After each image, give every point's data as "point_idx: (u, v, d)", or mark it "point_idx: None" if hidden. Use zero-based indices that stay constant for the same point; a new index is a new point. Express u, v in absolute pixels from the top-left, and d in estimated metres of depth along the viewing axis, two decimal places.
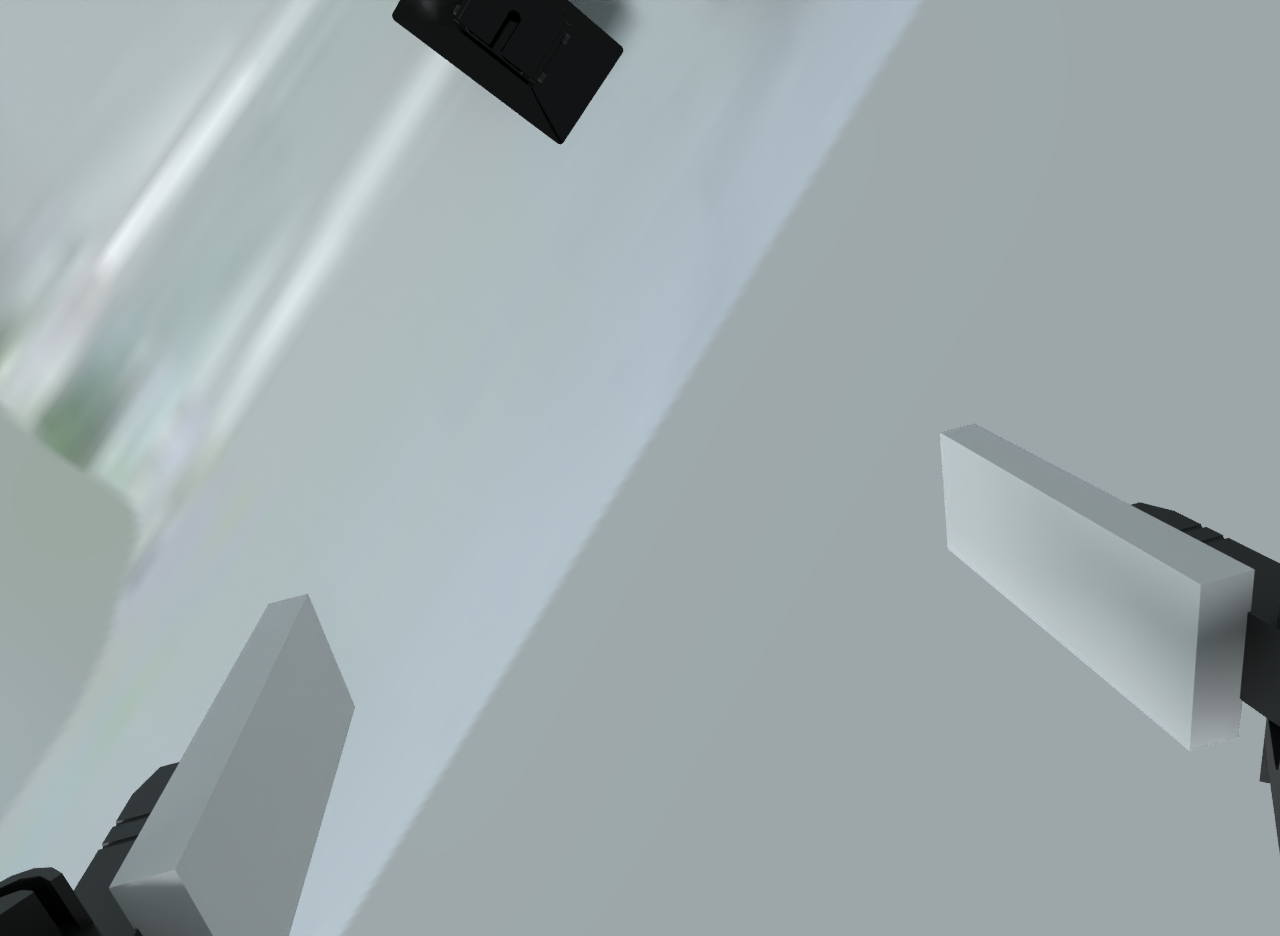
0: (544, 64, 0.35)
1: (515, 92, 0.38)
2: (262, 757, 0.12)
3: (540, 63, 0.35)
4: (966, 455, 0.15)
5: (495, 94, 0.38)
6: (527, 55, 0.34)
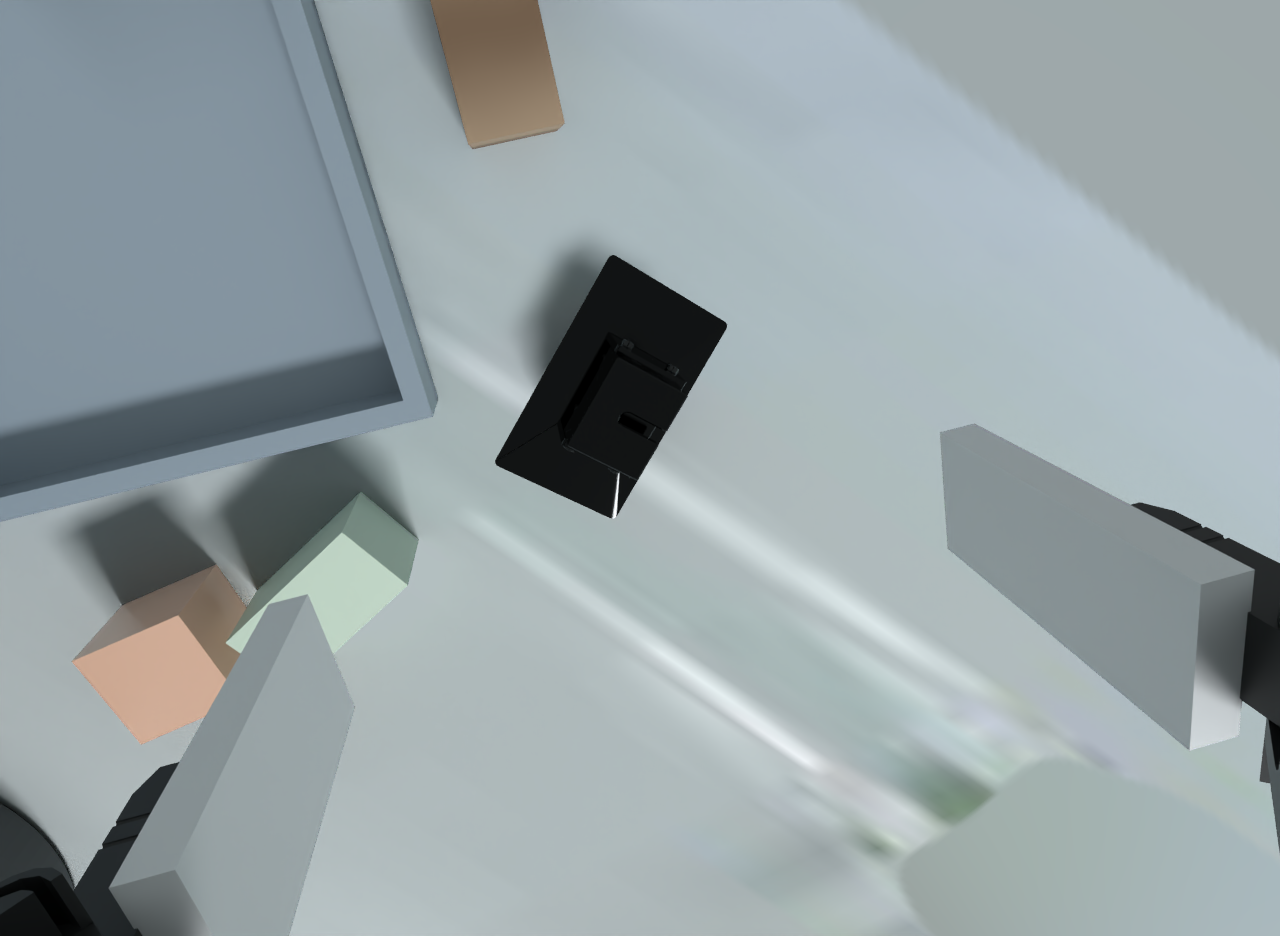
0: (665, 372, 0.28)
1: None
2: (262, 757, 0.12)
3: (664, 377, 0.28)
4: (965, 455, 0.15)
5: None
6: (666, 400, 0.28)
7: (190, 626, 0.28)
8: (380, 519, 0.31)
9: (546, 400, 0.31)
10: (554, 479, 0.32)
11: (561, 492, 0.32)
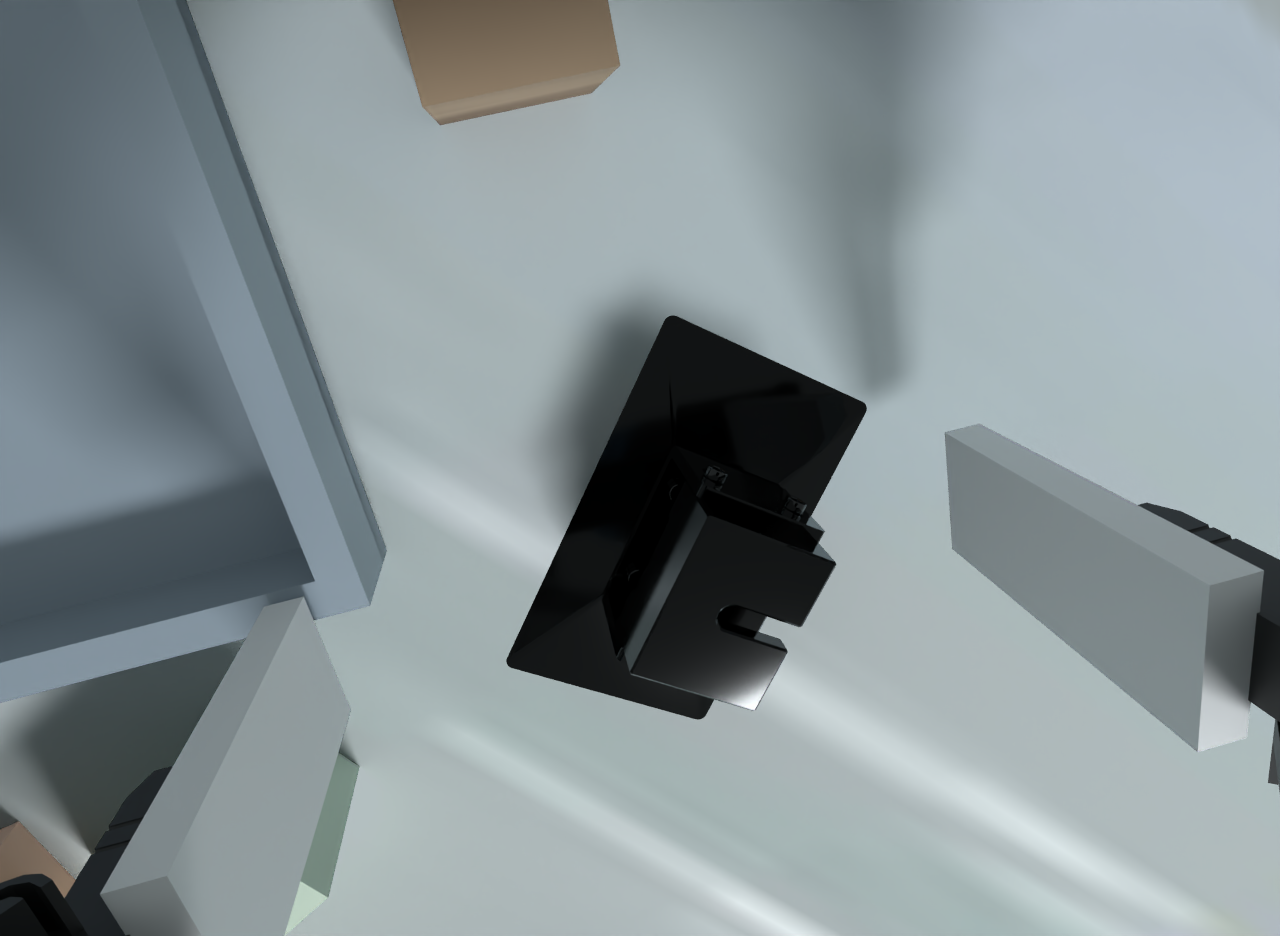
0: (787, 520, 0.16)
1: None
2: (256, 761, 0.12)
3: (788, 529, 0.16)
4: (970, 455, 0.15)
5: None
6: (798, 577, 0.15)
7: None
8: None
9: (580, 561, 0.19)
10: (604, 676, 0.20)
11: (616, 693, 0.20)
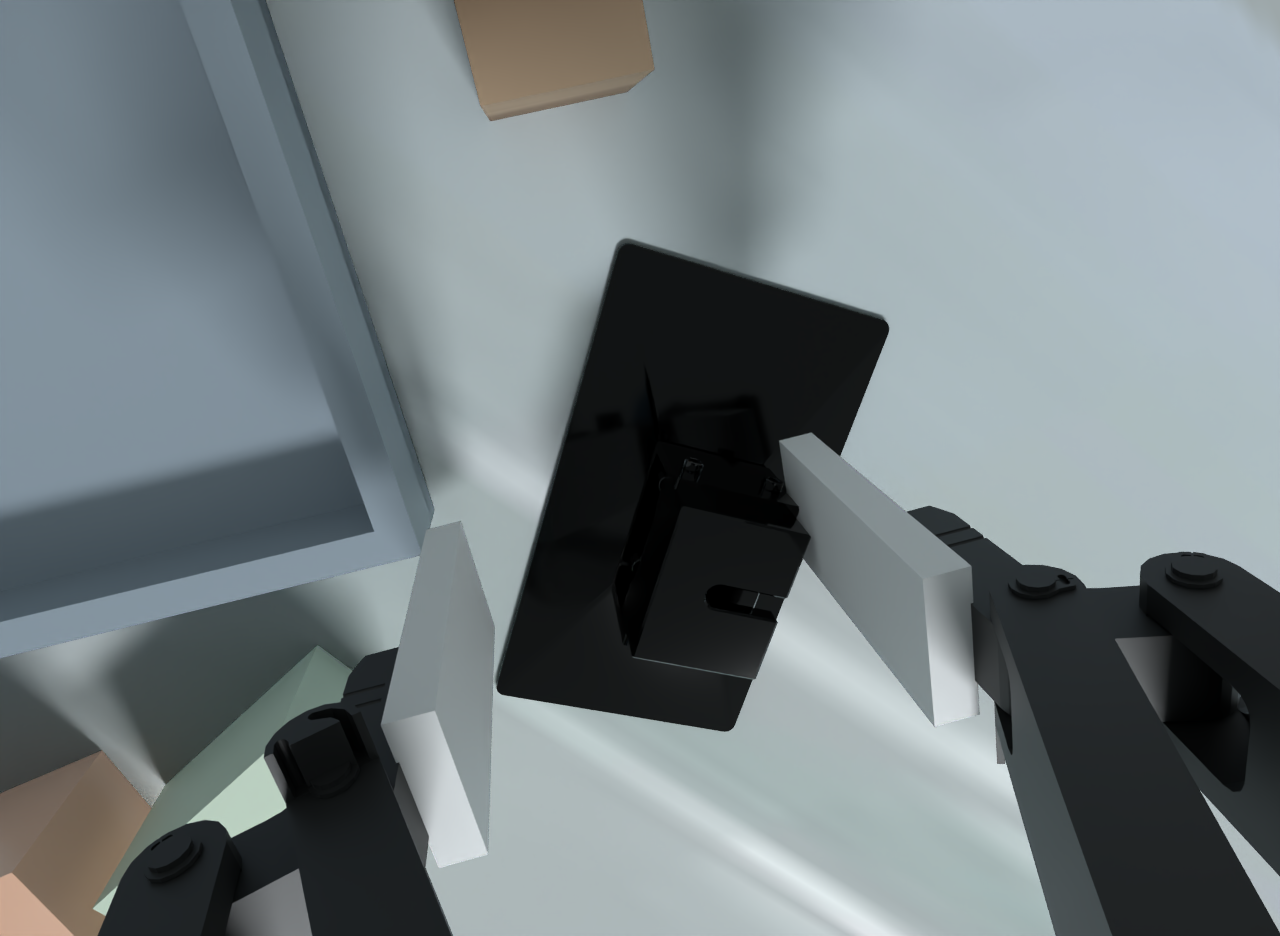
0: (763, 500, 0.17)
1: None
2: (459, 644, 0.14)
3: (765, 509, 0.17)
4: (794, 461, 0.17)
5: None
6: (776, 553, 0.16)
7: (34, 884, 0.17)
8: None
9: (587, 557, 0.20)
10: (626, 659, 0.21)
11: (640, 674, 0.22)
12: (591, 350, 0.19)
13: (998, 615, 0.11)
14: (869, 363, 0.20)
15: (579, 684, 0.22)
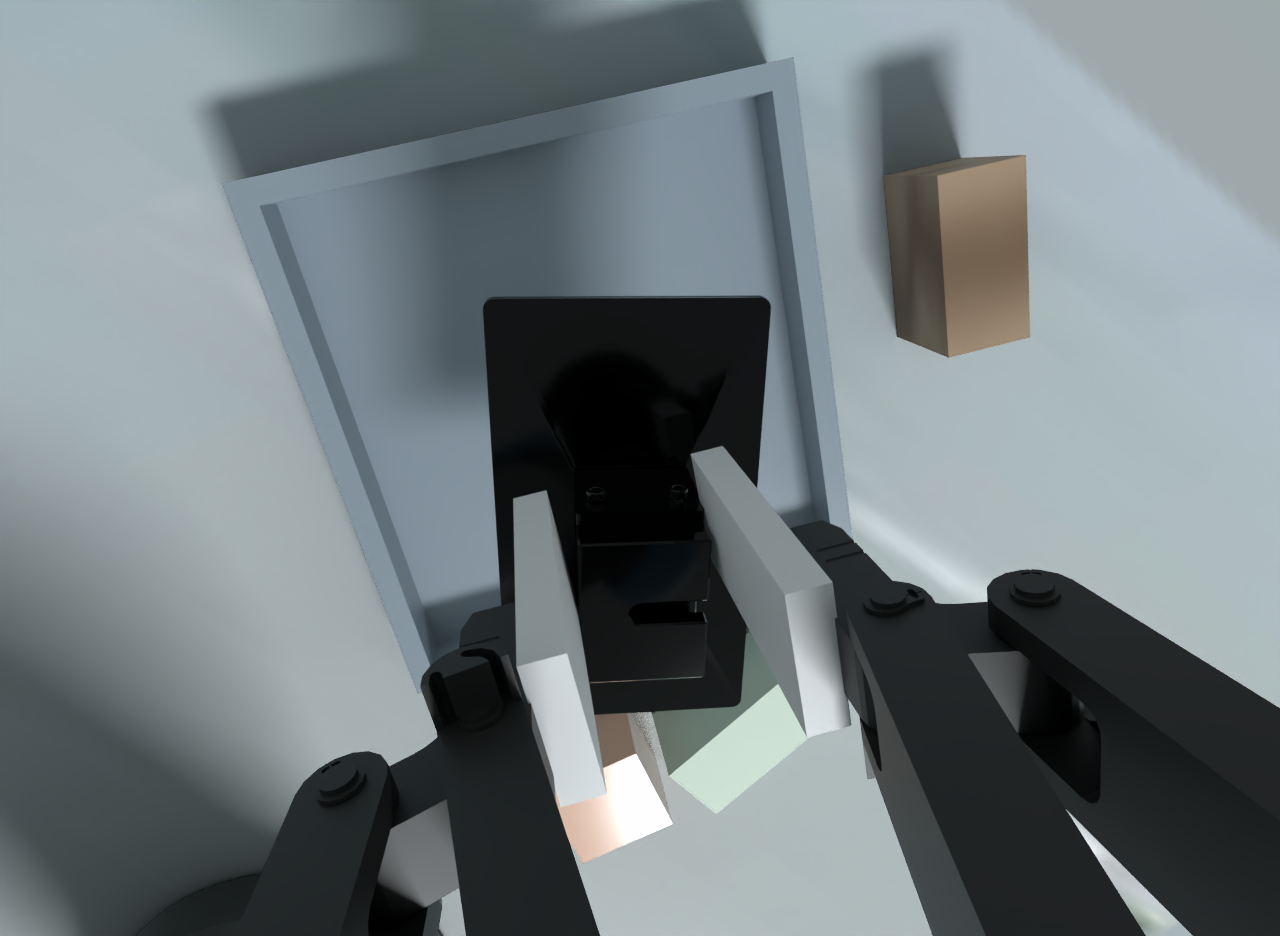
0: (665, 513, 0.18)
1: None
2: (565, 601, 0.14)
3: (669, 521, 0.18)
4: (701, 475, 0.17)
5: None
6: (682, 563, 0.17)
7: (641, 761, 0.31)
8: None
9: None
10: None
11: None
12: (489, 403, 0.20)
13: (857, 635, 0.11)
14: (761, 341, 0.20)
15: None
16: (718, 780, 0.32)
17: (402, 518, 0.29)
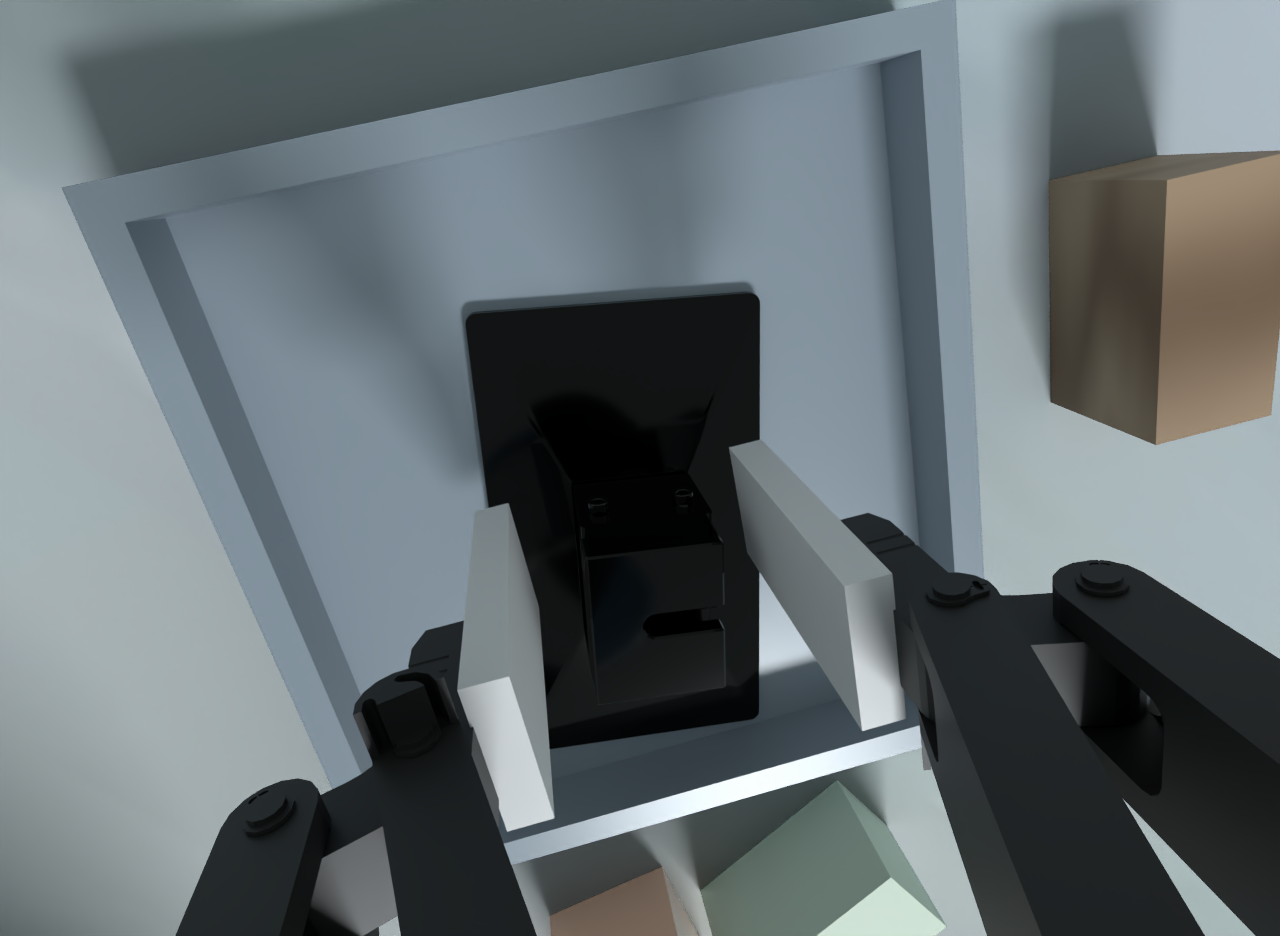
0: (672, 519, 0.17)
1: (708, 486, 0.20)
2: (518, 618, 0.14)
3: (677, 527, 0.17)
4: (741, 469, 0.17)
5: (730, 508, 0.21)
6: (695, 569, 0.16)
7: None
8: (868, 818, 0.25)
9: (551, 609, 0.21)
10: None
11: None
12: (478, 423, 0.19)
13: (918, 624, 0.11)
14: (752, 338, 0.19)
15: (593, 722, 0.22)
16: None
17: (362, 659, 0.21)
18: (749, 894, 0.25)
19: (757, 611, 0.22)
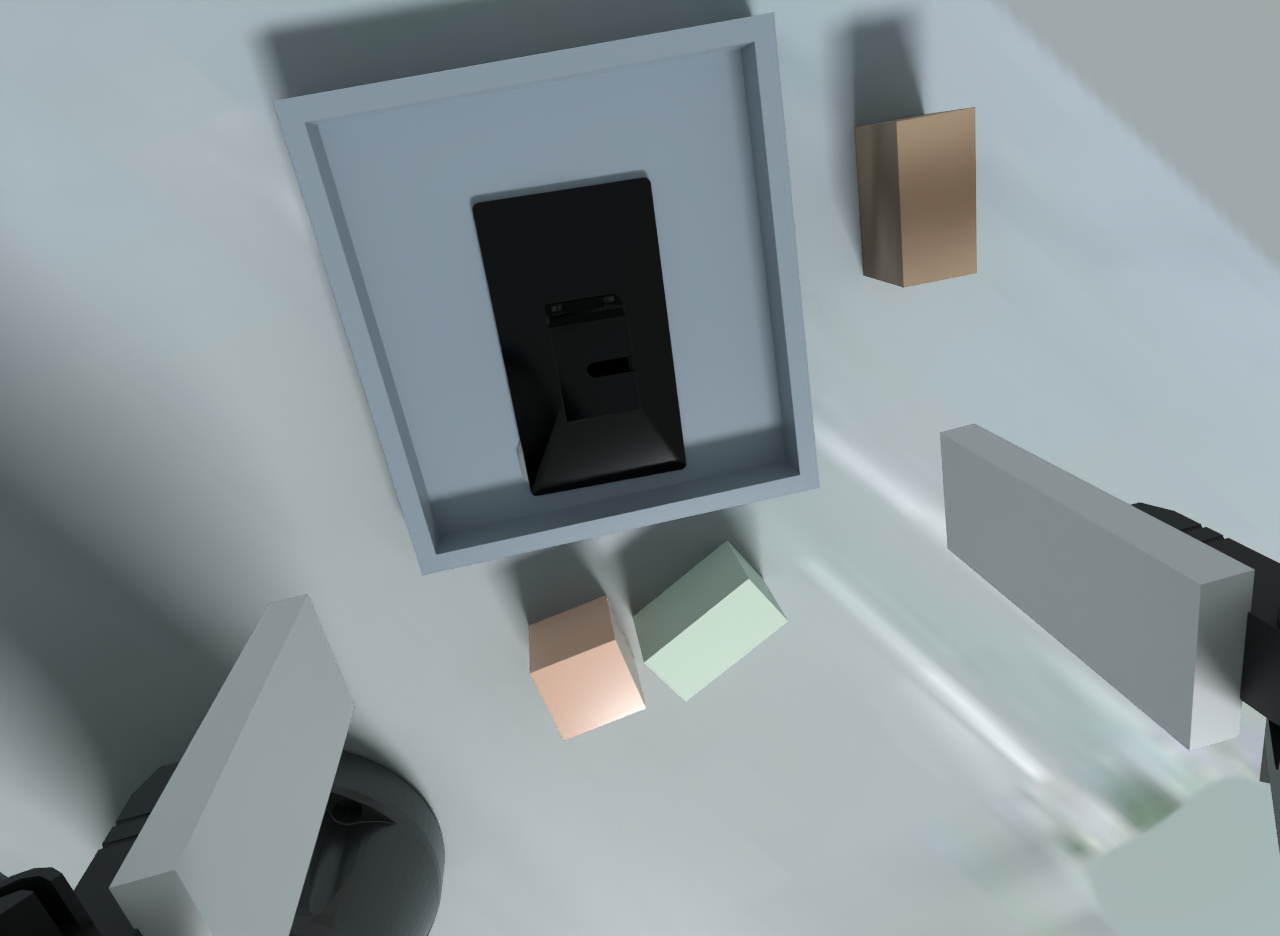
0: (600, 309, 0.29)
1: (631, 303, 0.32)
2: (262, 757, 0.12)
3: (603, 313, 0.29)
4: (966, 455, 0.15)
5: (648, 318, 0.33)
6: (613, 333, 0.28)
7: (619, 648, 0.35)
8: (746, 564, 0.38)
9: (541, 392, 0.33)
10: (596, 445, 0.34)
11: (609, 451, 0.34)
12: (485, 272, 0.31)
13: None
14: (648, 206, 0.31)
15: (577, 472, 0.35)
16: (688, 669, 0.36)
17: (415, 417, 0.33)
18: (663, 610, 0.37)
19: (675, 391, 0.34)
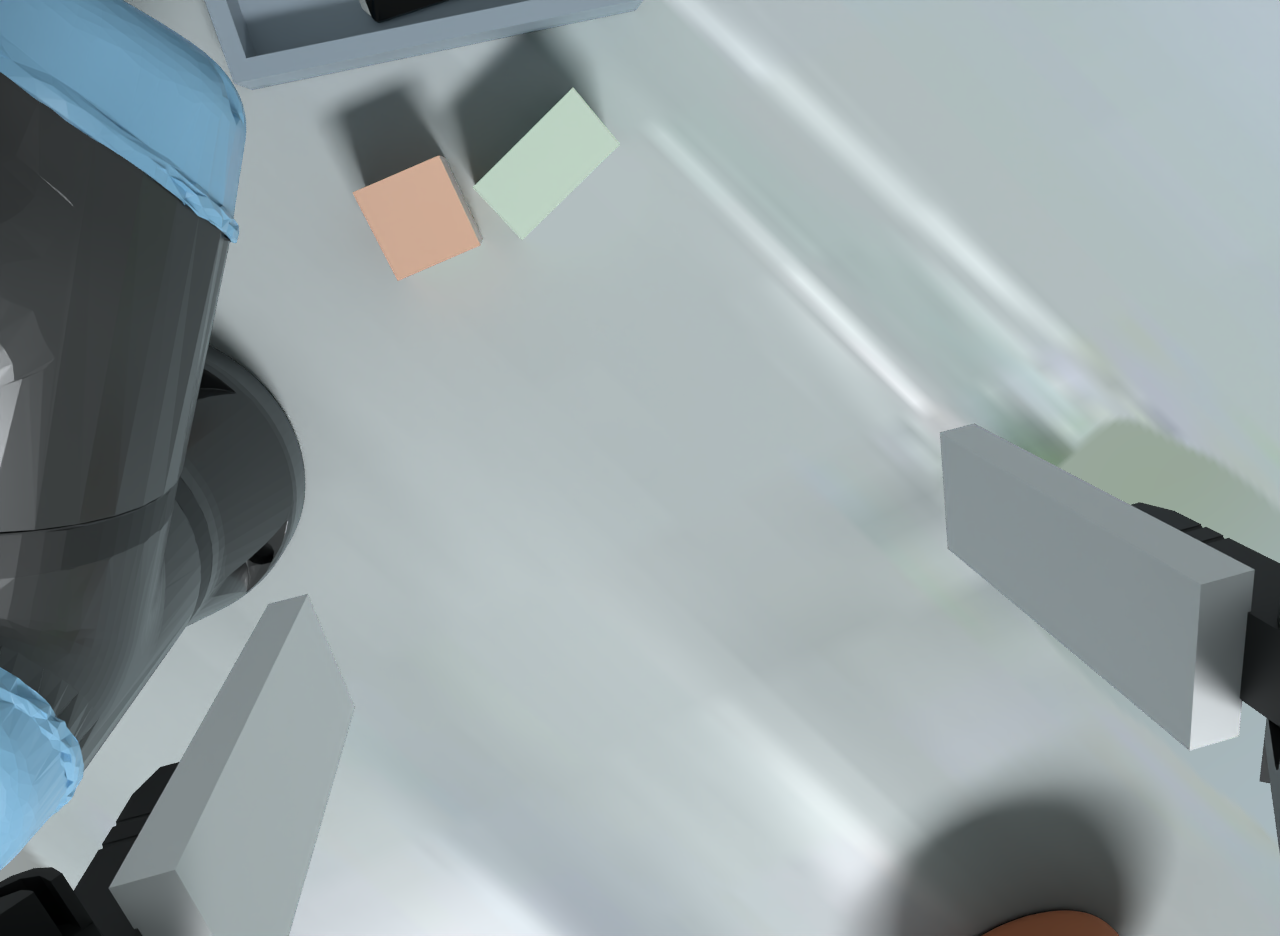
0: None
1: None
2: (262, 757, 0.12)
3: None
4: (965, 455, 0.15)
5: None
6: None
7: (445, 169, 0.34)
8: None
9: None
10: None
11: None
12: None
13: None
14: None
15: None
16: (521, 199, 0.35)
17: None
18: None
19: None
